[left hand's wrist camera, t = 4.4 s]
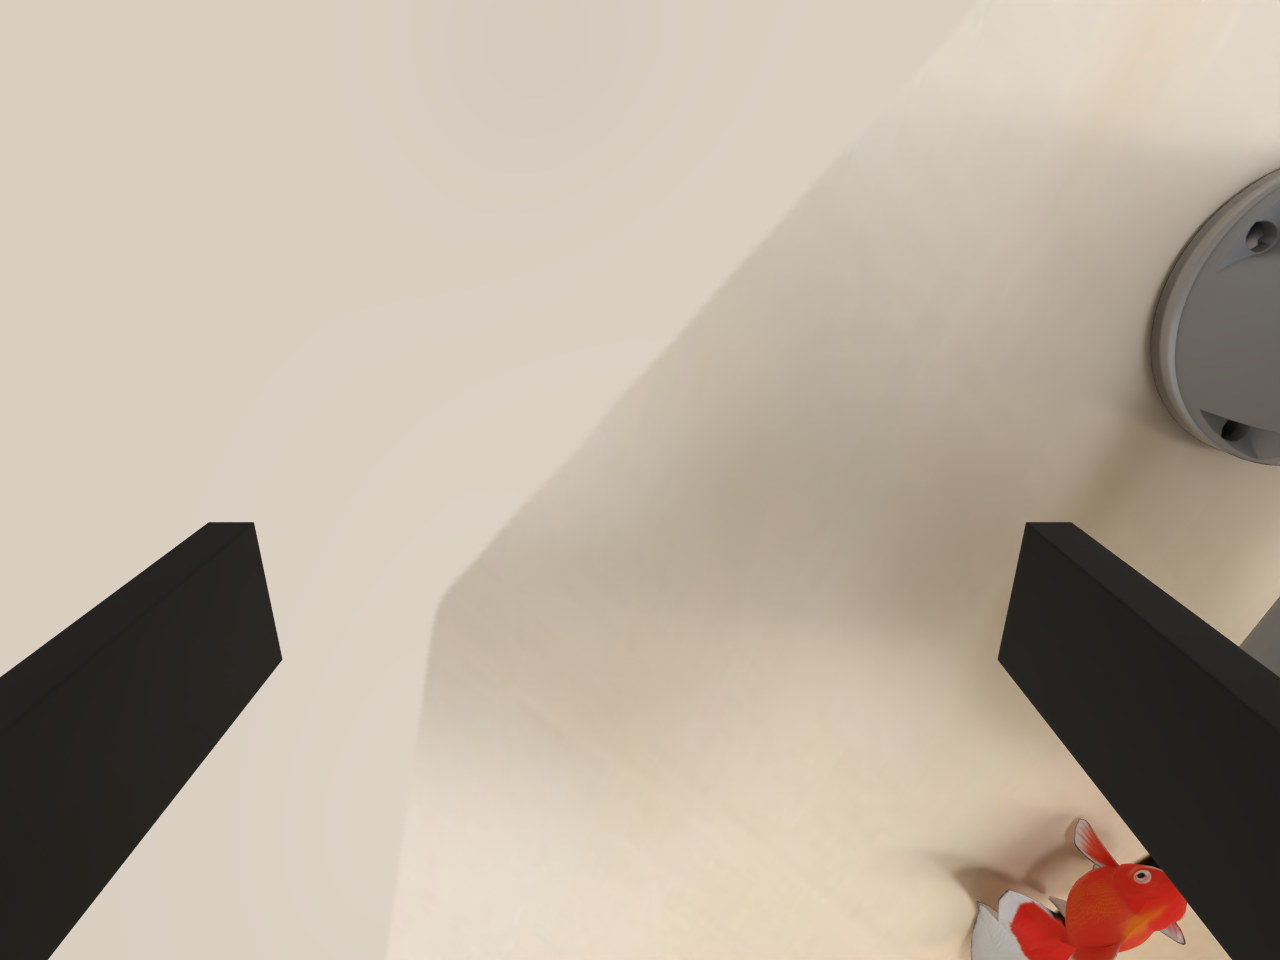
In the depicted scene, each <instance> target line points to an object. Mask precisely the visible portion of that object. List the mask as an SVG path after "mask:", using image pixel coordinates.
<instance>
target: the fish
mask: <svg viewBox="0 0 1280 960" xmlns="http://www.w3.org/2000/svg"><path fill="white" fill-rule="evenodd" d="M1074 842H1075V845H1076V847H1077V848H1078V849H1079V850H1080V851H1081V852H1082V853H1083V854H1084V855H1085V856H1086V857H1087V858H1088V859H1090V860H1091V861H1092V862H1093V863H1095V864H1094V866H1093V870H1091V871H1090V872H1088V873H1086V874H1085V875H1084V876H1082V877H1081V878H1079V879H1078V880H1077V881H1076V883H1075V884H1074V885H1073V887H1072V889H1071V890H1070V893H1069V895H1068V899H1067V901H1064V900H1061V899H1057V898H1054V897H1051V896H1050V897H1049V900H1050V901H1051V902H1052V903H1053V904H1054V905H1055V906H1056V907H1057V908H1058V910H1059V911H1060V912H1061V914H1062V915H1063V916H1064V917H1065V922H1064V921H1063V919H1062V918H1061V917H1060V916H1059V915H1057V914H1056V913H1054V912H1053V911H1051V910H1049V909H1048V908H1046V907H1045V906H1043V905H1041V904H1040V903H1038V902H1036V901H1035V900H1033V899H1031V898H1029V897H1026V896H1024V895H1022V894H1019V893H1016V892H1014V891H1011V890H1007V891H1006V892H1005V893H1004V894H1003V895H1002V896H1001V897H1000V899H999V913H997V912H996V911H994V910H993V909H992V908H990V907H988V906H987V905H985V904H983V903H980V902H978V901H977V904H978V915H977V918H976V921H975V923H974V928H973V933H972V942H971V960H1114V959H1115V958H1116V956H1117V954H1118V952H1123V951H1126V950H1130V949H1132V948H1135V947H1137V946H1139V945H1141V944H1142V943H1143V942H1145V941H1146V940H1147V939H1148V938H1149V936H1150V935H1151V934H1152V933H1153V932H1154V931H1161V932H1162V933H1164V934H1165V935H1167V936H1168V937H1170V938H1171V939H1173V940H1174V941H1176V942H1177V943H1180V944H1183V945H1184V944H1185V939H1184V936H1183V933H1182V931H1181V929H1180V928H1179V926H1178V925H1177V923H1176V921H1179V920H1181V919H1183V917H1184V916H1185V913H1186V905H1187V901H1186V900H1185V899H1184V897H1183V896H1182V895H1181V894H1180V892H1179V891H1178V890H1177V888H1176V887H1175V886H1174V885H1173V883H1172V882H1171V881H1170V879H1169V878H1168V877H1167V876H1166V874H1165V873H1164V872H1163V871H1162V870H1160V869H1158V868H1155V867H1152V866H1146V865H1140V864H1121V865H1118V864H1117V862H1116V861H1115V860H1114V859H1113V857H1112V856H1111V855H1110V854H1109V852H1108V851H1107V850H1106V848H1105V847H1104V845H1103V844H1102V843H1101V841H1100V840H1099V839H1098V837H1097V836H1096V834H1095V833H1094V831H1093V829H1092V828H1091V826H1090V824H1089V823H1088V822H1087V821H1086V820H1081V819H1079V821H1078V823H1077V826H1076V828H1075V836H1074Z"/></svg>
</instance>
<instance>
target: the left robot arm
mask: <svg viewBox="0 0 1280 960" xmlns="http://www.w3.org/2000/svg"><path fill="white" fill-rule="evenodd" d="M1151 361H1152V369H1153V375H1154V380H1155V383H1156V386H1157V389H1158V392H1159V394H1160V396H1161V399H1162V401H1163V403H1164V405H1165V406H1166V408H1167V409H1168V411H1169V413H1170V414H1171V415H1172V416H1173V418H1174V419H1175V420H1176V421H1177V423H1179V424H1180V425H1181V426H1182V427H1183V428H1184V429H1185V430H1186V431H1187V432H1189V433H1190V434H1191V435H1193V436H1194V437H1195V438H1197V439H1199V440H1200V441H1202V442H1204V443H1206V444H1208V445H1210V446H1213V447H1215V448H1217V449H1220V450H1222V451H1225V452H1227V453H1229V454H1232V455H1234V456H1236V457H1239V458H1241V459H1244V460H1248V461H1251V462H1255V463H1260V464H1266V465H1276V466H1280V169H1278V170H1276V171H1275V172H1273V173H1271V174H1269V175H1267V176H1265V177H1263V178H1262V179H1260V180H1258V181H1257V182H1255V183H1253V184H1252V185H1250V186H1249V187H1247V188H1246V189H1245V190H1243V191H1242V192H1240V193H1239V194H1238V195H1236V196H1235V197H1234V198H1233V199H1231V200H1230V201H1229V202H1228V203H1227V204H1226V205H1224V206H1223V207H1222V208H1221V209H1220V210H1219V211H1218V212H1217V213H1216V214H1215V215H1214V216H1213V217H1212V218H1211V219H1210V220H1209V221H1208V222H1207V223H1206V224H1205V225H1204V226H1203V227H1202V229H1201V230H1200V231H1199V232H1198V233H1197V234H1196V236H1195V237H1194V238H1193V240H1192V241H1191V242H1190V244H1189V245H1188V246H1187V248H1186V249H1185V250H1184V252H1183V254H1182V255H1181V257H1180V258H1179V260H1178V261H1177V263H1176V265H1175V267H1174V269H1173V270H1172V272H1171V274H1170V276H1169V278H1168V280H1167V283H1166V285H1165V287H1164V290H1163V292H1162V294H1161V297H1160V301H1159V304H1158V307H1157V310H1156V314H1155V319H1154V323H1153V330H1152V337H1151ZM281 661H282V655H281V651H280V646H279V641H278V636H277V631H276V627H275V622H274V617H273V612H272V607H271V603H270V598H269V593H268V588H267V583H266V578H265V574H264V569H263V564H262V559H261V554H260V550H259V545H258V540H257V535H256V530H255V526H254V523H253V522H209V523H207V524H206V525H205V526H203V527H202V528H201V529H199V530H198V531H197V532H195V533H194V534H192V535H191V536H190V537H188V538H187V539H186V540H184V541H183V542H182V543H180V544H179V545H178V546H176V547H175V548H174V549H172V550H171V551H170V552H168V553H167V554H166V555H164V556H163V557H162V558H160V559H159V560H158V561H156V562H155V563H154V564H152V565H151V566H149V567H148V568H147V569H145V570H144V571H143V572H141V573H140V574H139V575H137V576H136V577H135V578H133V579H132V580H131V581H129V582H128V583H127V584H125V585H124V586H122V587H121V588H120V589H118V590H117V591H116V592H114V593H113V594H112V595H110V596H109V597H108V598H106V599H105V600H104V601H102V602H101V603H100V604H98V605H97V606H96V607H94V608H93V609H92V610H90V611H89V612H87V613H86V614H85V615H83V616H82V617H81V618H79V619H78V620H77V621H75V622H74V623H73V624H71V625H70V626H69V627H67V628H66V629H65V630H63V631H62V632H61V633H59V634H58V635H57V636H55V637H54V638H52V639H51V640H50V641H48V642H47V643H46V644H44V645H43V646H42V647H40V648H39V649H38V650H36V651H35V652H34V653H32V654H31V655H30V656H28V657H27V658H26V659H24V660H23V661H22V662H20V663H19V664H17V665H16V666H15V667H14V668H12V669H11V670H9V671H8V672H7V673H5V674H4V675H3V676H1V677H0V960H48V959H49V958H50V956H51V955H52V954H53V952H54V951H55V950H56V949H57V947H58V946H59V945H60V943H61V942H62V941H63V940H64V938H65V937H66V936H67V934H68V933H69V932H70V931H71V929H72V928H73V927H74V925H75V924H76V923H77V922H78V920H79V919H80V918H81V917H82V915H83V914H84V913H85V911H86V910H87V909H88V908H89V906H90V905H91V904H92V902H93V901H94V900H95V899H96V897H97V896H98V895H99V894H100V892H101V891H102V890H103V888H104V887H105V886H106V885H107V883H108V882H109V881H110V879H111V878H112V877H113V876H114V874H115V873H116V872H117V870H118V869H119V868H120V867H121V865H122V864H123V863H124V861H125V860H126V859H127V858H128V856H129V855H130V854H131V853H132V851H133V850H134V849H135V847H136V846H137V845H138V844H139V842H140V841H141V840H142V839H143V837H144V836H145V835H146V833H147V832H148V831H149V830H150V828H151V827H152V826H153V824H154V823H155V822H156V821H157V819H158V818H159V817H160V815H161V814H162V813H163V812H164V810H165V809H166V808H167V807H168V805H169V804H170V803H171V801H172V800H173V799H174V798H175V796H176V795H177V794H178V792H179V791H180V790H181V789H182V787H183V786H184V785H185V783H186V782H187V781H188V780H189V778H190V777H191V776H192V775H193V773H194V772H195V771H196V769H197V768H198V767H199V766H200V764H201V763H202V762H203V760H204V759H205V758H206V757H207V755H208V754H209V753H210V752H211V750H212V749H213V748H214V746H215V745H216V744H217V743H218V741H219V740H220V739H221V737H222V736H223V735H224V734H225V732H226V731H227V730H228V728H229V727H230V726H231V725H232V723H233V722H234V721H235V720H236V718H237V717H238V716H239V714H240V713H241V712H242V711H243V709H244V708H245V707H246V705H247V704H248V703H249V702H250V700H251V699H252V698H253V696H254V695H255V694H256V693H257V691H258V690H259V689H260V687H261V686H262V685H263V684H264V682H265V681H266V680H267V679H268V677H269V676H270V675H271V673H272V672H273V671H274V670H275V668H276V667H277V666H278V664H279V663H280V662H281ZM998 661H999V662H1000V663H1001V665H1002V666H1003V667H1004V668H1005V670H1006V671H1007V672H1008V673H1009V675H1010V676H1011V677H1012V679H1013V680H1014V681H1015V682H1016V684H1017V685H1018V686H1019V688H1020V689H1021V690H1022V691H1023V693H1024V694H1025V695H1026V697H1027V698H1028V699H1029V700H1030V702H1031V703H1032V704H1033V705H1034V707H1035V708H1036V709H1037V711H1038V712H1039V713H1040V714H1041V716H1042V717H1043V718H1044V720H1045V721H1046V722H1047V723H1048V725H1049V726H1050V727H1051V728H1052V730H1053V731H1054V732H1055V734H1056V735H1057V736H1058V737H1059V739H1060V740H1061V741H1062V743H1063V744H1064V745H1065V746H1066V748H1067V749H1068V750H1069V752H1070V753H1071V754H1072V755H1073V757H1074V758H1075V759H1076V760H1077V762H1078V763H1079V764H1080V766H1081V767H1082V768H1083V769H1084V771H1085V772H1086V773H1087V775H1088V776H1089V777H1090V778H1091V780H1092V781H1093V782H1094V784H1095V785H1096V786H1097V787H1098V789H1099V790H1100V791H1101V792H1102V794H1103V795H1104V796H1105V798H1106V799H1107V800H1108V801H1109V803H1110V804H1111V805H1112V807H1113V808H1114V809H1115V810H1116V812H1117V813H1118V814H1119V815H1120V817H1121V818H1122V819H1123V821H1124V822H1125V823H1126V824H1127V826H1128V827H1129V828H1130V830H1131V831H1132V832H1133V833H1134V835H1135V836H1136V837H1137V839H1138V840H1139V841H1140V842H1141V844H1142V845H1143V846H1144V847H1145V849H1146V850H1147V851H1148V853H1149V854H1150V855H1151V856H1152V858H1153V859H1154V860H1155V862H1156V863H1157V864H1158V865H1159V867H1160V868H1161V869H1162V871H1163V872H1164V873H1165V874H1166V876H1167V877H1168V878H1169V879H1170V881H1171V882H1172V883H1173V885H1174V886H1175V887H1176V888H1177V890H1178V891H1179V892H1180V894H1181V895H1182V896H1183V897H1184V899H1185V900H1186V901H1187V902H1188V904H1189V905H1190V906H1191V908H1192V909H1193V910H1194V911H1195V913H1196V914H1197V915H1198V917H1199V918H1200V919H1201V920H1202V922H1203V923H1204V924H1205V926H1206V927H1207V928H1208V929H1209V931H1210V932H1211V933H1212V934H1213V936H1214V937H1215V938H1216V940H1217V941H1218V942H1219V943H1220V945H1221V946H1222V947H1223V949H1224V950H1225V951H1226V952H1227V954H1228V955H1229V956H1230V958H1231V959H1232V960H1280V597H1279V598H1278V599H1277V601H1276V602H1275V603H1274V604H1273V606H1272V607H1271V608H1270V609H1269V610H1268V612H1267V613H1266V614H1265V615H1264V617H1263V618H1262V619H1261V620H1260V622H1259V623H1258V624H1257V625H1256V627H1255V628H1254V629H1253V630H1252V631H1251V633H1250V634H1249V635H1248V636H1247V638H1246V639H1245V640H1244V641H1243V643H1242V644H1241V645H1240V646H1239V647H1238V646H1237V645H1236V644H1234V643H1233V642H1232V641H1230V640H1229V639H1228V638H1226V637H1225V636H1223V635H1222V634H1221V633H1219V632H1218V631H1217V630H1215V629H1214V628H1213V627H1211V626H1210V625H1209V624H1207V623H1206V622H1205V621H1203V620H1202V619H1201V618H1199V617H1198V616H1197V615H1195V614H1194V613H1193V612H1191V611H1190V610H1188V609H1187V608H1186V607H1184V606H1183V605H1182V604H1180V603H1179V602H1178V601H1176V600H1175V599H1174V598H1172V597H1171V596H1170V595H1168V594H1167V593H1166V592H1164V591H1163V590H1162V589H1160V588H1159V587H1158V586H1156V585H1155V584H1153V583H1152V582H1151V581H1149V580H1148V579H1147V578H1145V577H1144V576H1143V575H1141V574H1140V573H1139V572H1137V571H1136V570H1135V569H1133V568H1132V567H1131V566H1129V565H1128V564H1127V563H1125V562H1124V561H1123V560H1121V559H1120V558H1119V557H1117V556H1116V555H1114V554H1113V553H1112V552H1110V551H1109V550H1108V549H1106V548H1105V547H1104V546H1102V545H1101V544H1100V543H1098V542H1097V541H1096V540H1094V539H1093V538H1092V537H1090V536H1089V535H1088V534H1086V533H1085V532H1084V531H1082V530H1081V529H1079V528H1078V527H1077V526H1075V525H1074V524H1073V523H1071V522H1026V526H1025V530H1024V535H1023V540H1022V545H1021V550H1020V554H1019V559H1018V564H1017V569H1016V574H1015V578H1014V583H1013V588H1012V593H1011V598H1010V603H1009V607H1008V612H1007V617H1006V622H1005V627H1004V631H1003V636H1002V641H1001V646H1000V651H999V655H998Z"/></svg>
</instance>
